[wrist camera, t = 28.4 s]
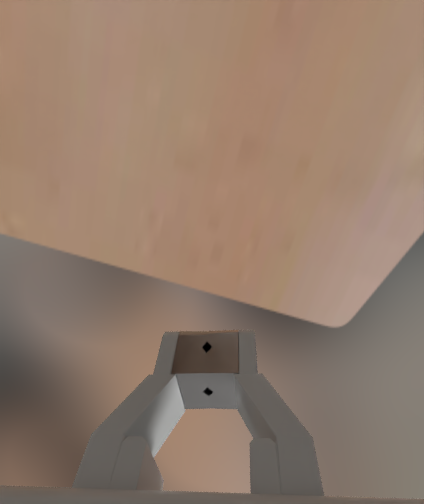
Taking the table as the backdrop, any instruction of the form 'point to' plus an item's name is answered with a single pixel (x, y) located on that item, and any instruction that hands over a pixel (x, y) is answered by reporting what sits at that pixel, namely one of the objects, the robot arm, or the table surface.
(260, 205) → the table surface
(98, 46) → the table surface
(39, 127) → the table surface
